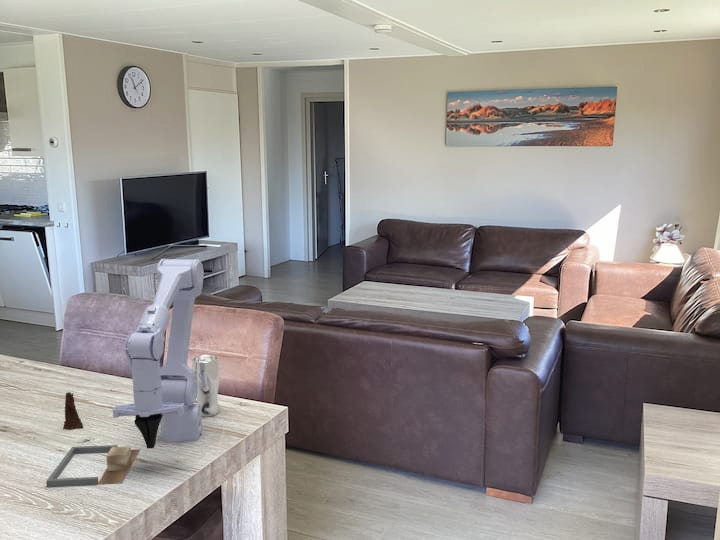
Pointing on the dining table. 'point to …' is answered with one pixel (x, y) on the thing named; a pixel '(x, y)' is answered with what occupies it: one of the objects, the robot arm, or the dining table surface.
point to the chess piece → (71, 414)
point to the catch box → (53, 480)
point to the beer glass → (207, 383)
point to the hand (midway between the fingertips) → (151, 446)
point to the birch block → (119, 458)
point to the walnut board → (117, 472)
